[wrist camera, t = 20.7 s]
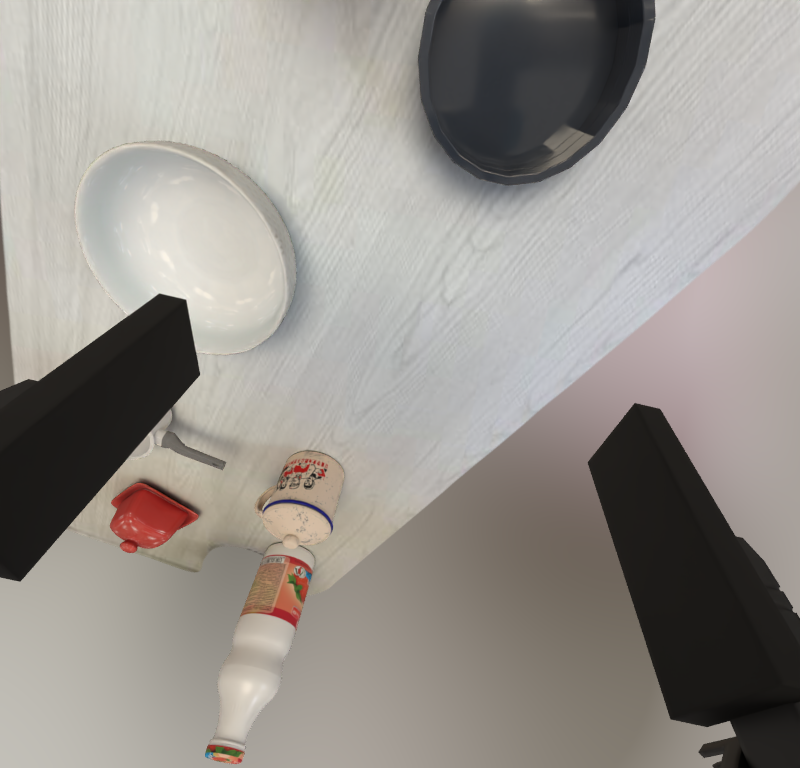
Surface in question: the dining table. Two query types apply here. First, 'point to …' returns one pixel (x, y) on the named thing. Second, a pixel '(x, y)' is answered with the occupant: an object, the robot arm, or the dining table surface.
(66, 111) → the dining table surface
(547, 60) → the dark grey round dish
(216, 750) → the fruit juice
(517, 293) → the dining table surface
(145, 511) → the butter dish
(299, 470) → the teacup with lid
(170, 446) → the saucepan
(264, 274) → the cereal bowl
